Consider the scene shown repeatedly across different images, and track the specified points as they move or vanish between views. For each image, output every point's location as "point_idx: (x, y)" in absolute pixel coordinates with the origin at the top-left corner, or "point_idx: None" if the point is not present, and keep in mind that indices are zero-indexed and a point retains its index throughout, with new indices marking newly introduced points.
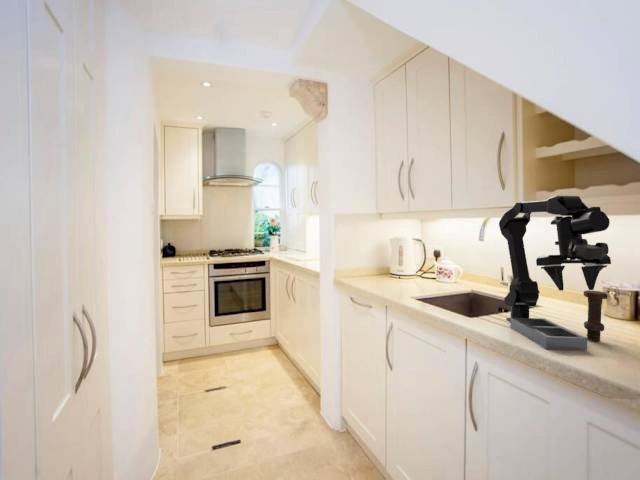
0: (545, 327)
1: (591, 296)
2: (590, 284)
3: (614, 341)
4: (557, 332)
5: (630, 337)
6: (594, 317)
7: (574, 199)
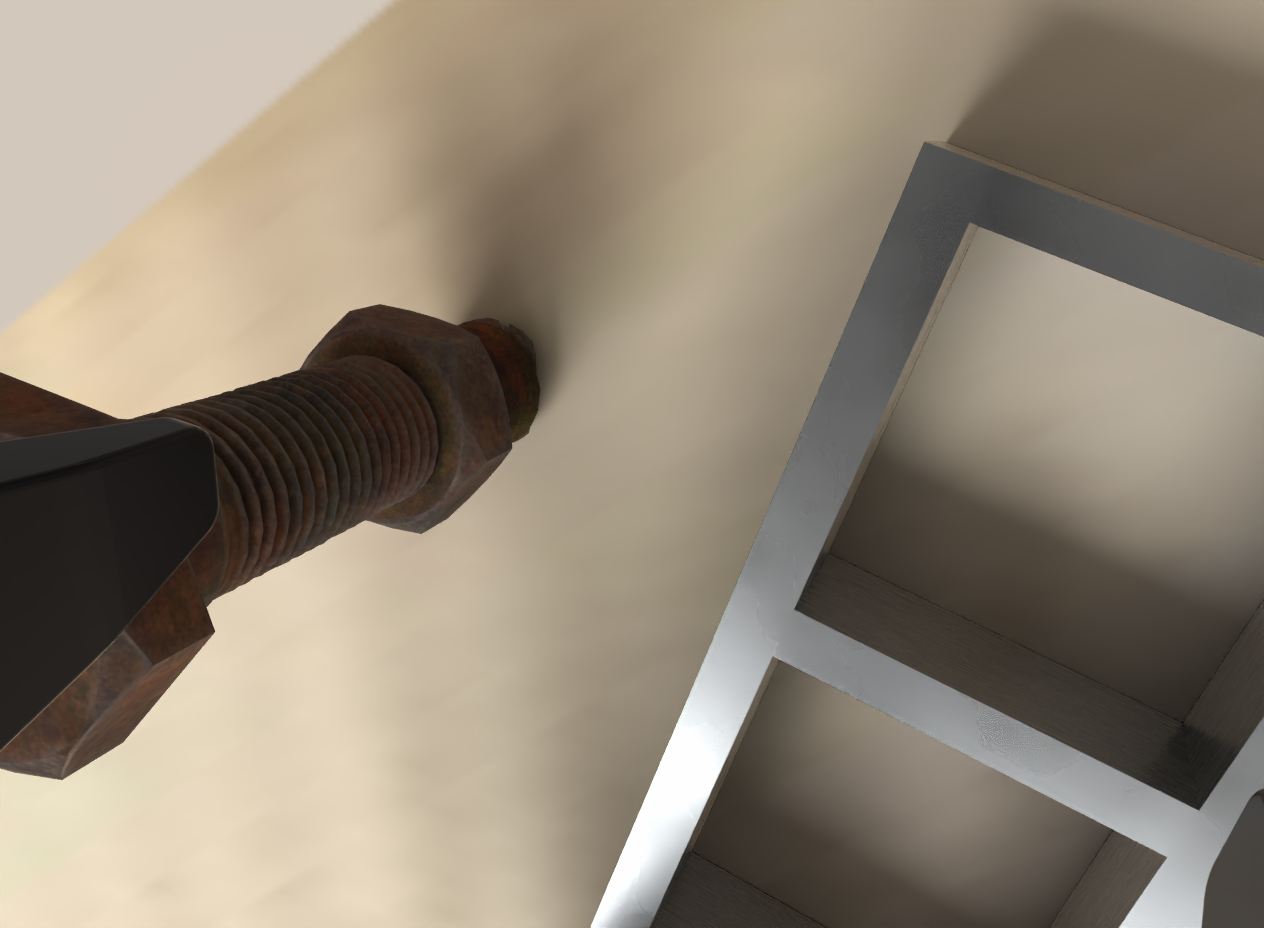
0: (1001, 712)
1: None
2: (80, 536)
3: (306, 289)
4: (846, 604)
5: (59, 323)
6: (362, 416)
7: None
